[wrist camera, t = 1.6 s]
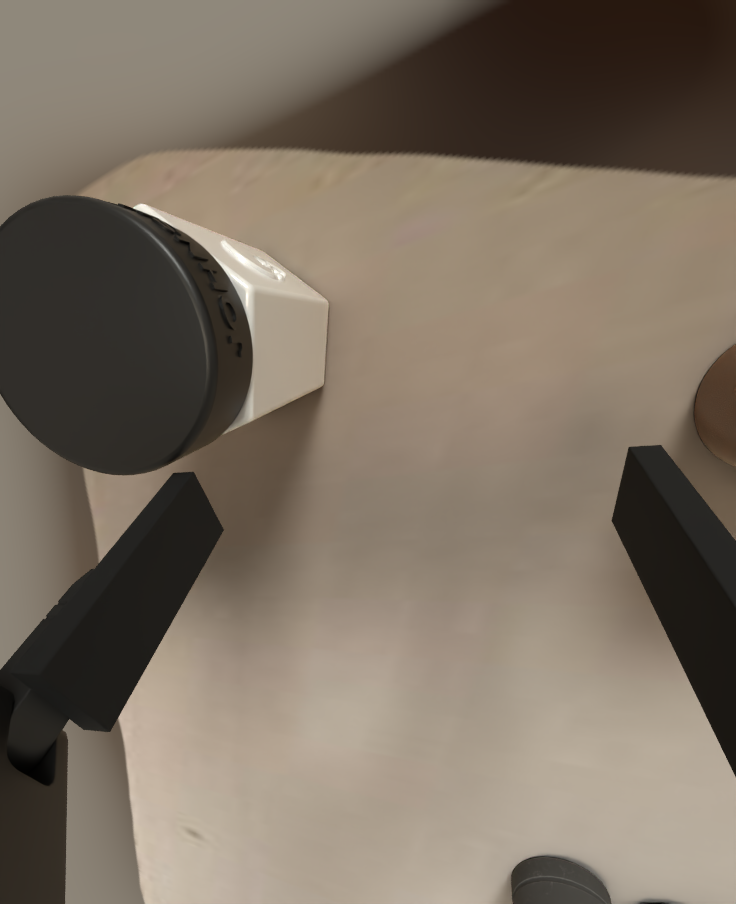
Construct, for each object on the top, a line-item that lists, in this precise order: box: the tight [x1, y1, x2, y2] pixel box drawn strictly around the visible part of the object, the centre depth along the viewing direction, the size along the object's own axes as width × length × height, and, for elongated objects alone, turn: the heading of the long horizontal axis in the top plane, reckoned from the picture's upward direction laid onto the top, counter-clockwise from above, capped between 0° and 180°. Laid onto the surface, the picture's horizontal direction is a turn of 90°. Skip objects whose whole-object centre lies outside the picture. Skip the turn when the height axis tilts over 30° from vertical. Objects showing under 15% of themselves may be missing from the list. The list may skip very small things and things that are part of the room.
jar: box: [0, 195, 329, 475], centre depth 18 cm, size 9×8×12 cm
